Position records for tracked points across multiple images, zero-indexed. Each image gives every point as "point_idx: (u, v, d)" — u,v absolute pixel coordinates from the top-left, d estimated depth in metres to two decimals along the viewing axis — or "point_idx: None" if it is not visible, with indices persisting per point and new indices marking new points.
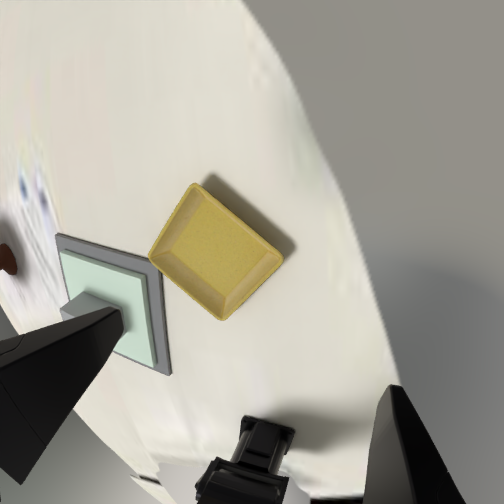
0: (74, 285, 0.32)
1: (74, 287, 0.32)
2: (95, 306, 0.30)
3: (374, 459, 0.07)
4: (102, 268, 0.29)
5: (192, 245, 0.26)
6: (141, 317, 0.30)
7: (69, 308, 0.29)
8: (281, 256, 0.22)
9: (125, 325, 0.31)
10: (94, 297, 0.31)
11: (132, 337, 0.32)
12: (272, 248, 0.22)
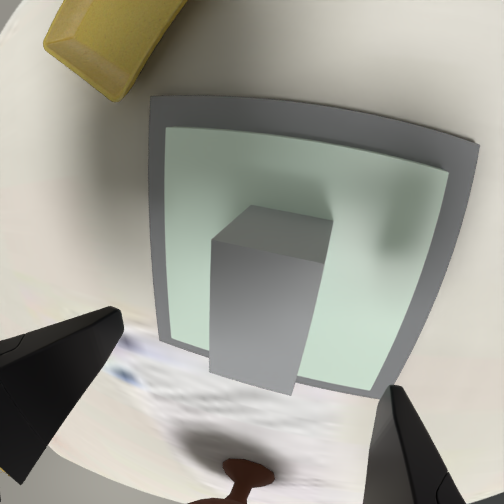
0: None
1: None
2: None
3: (374, 459, 0.07)
4: (168, 230, 0.15)
5: (121, 40, 0.13)
6: (266, 148, 0.12)
7: None
8: None
9: (308, 214, 0.13)
10: None
11: (347, 206, 0.12)
12: None
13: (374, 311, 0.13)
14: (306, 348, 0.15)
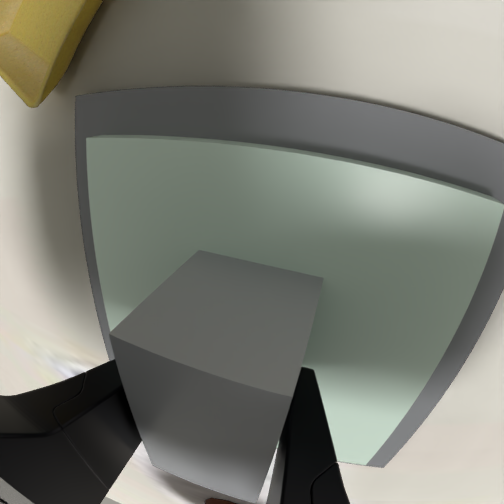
0: None
1: None
2: None
3: (280, 441, 0.07)
4: (102, 275, 0.11)
5: (51, 28, 0.08)
6: (217, 163, 0.08)
7: None
8: None
9: (284, 268, 0.08)
10: None
11: (346, 256, 0.08)
12: None
13: (377, 392, 0.09)
14: None
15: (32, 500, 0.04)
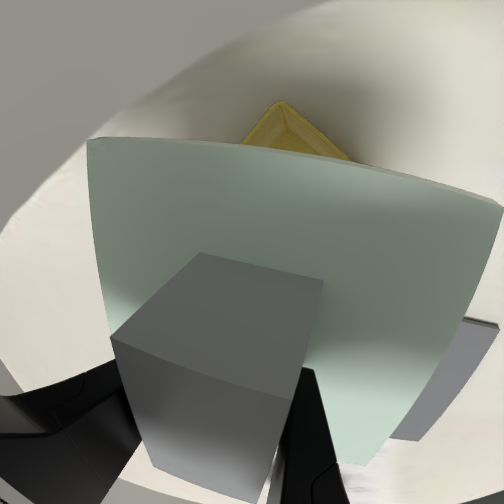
0: None
1: None
2: None
3: (280, 441, 0.07)
4: (103, 276, 0.11)
5: None
6: (218, 166, 0.08)
7: None
8: (276, 103, 0.16)
9: (284, 270, 0.08)
10: None
11: (346, 259, 0.08)
12: (266, 114, 0.16)
13: (377, 393, 0.09)
14: None
15: (32, 500, 0.04)
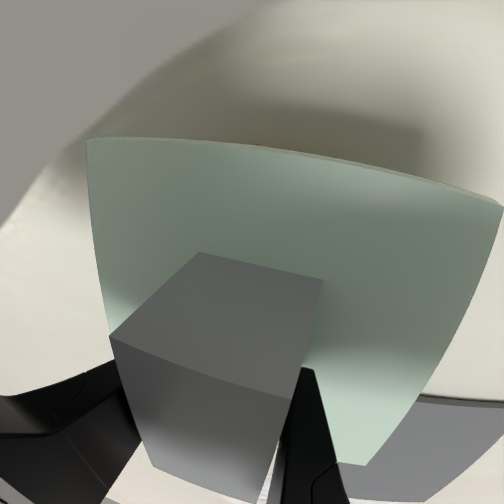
0: None
1: None
2: None
3: (280, 441, 0.07)
4: (102, 276, 0.11)
5: None
6: (217, 165, 0.08)
7: None
8: None
9: (283, 269, 0.08)
10: None
11: (346, 258, 0.08)
12: None
13: (377, 394, 0.09)
14: None
15: (32, 500, 0.04)
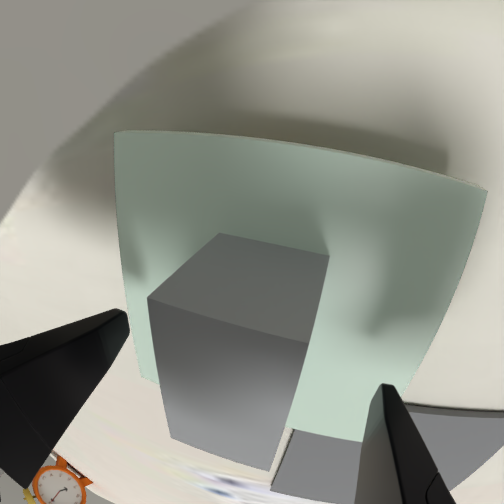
0: None
1: None
2: None
3: (365, 458, 0.07)
4: (124, 259, 0.12)
5: None
6: (238, 156, 0.09)
7: None
8: None
9: (295, 247, 0.09)
10: None
11: (349, 236, 0.09)
12: None
13: (379, 365, 0.10)
14: (294, 401, 0.12)
15: None
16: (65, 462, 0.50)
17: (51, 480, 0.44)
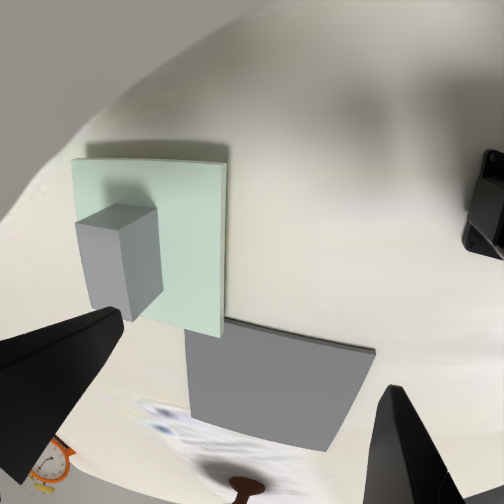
0: None
1: None
2: None
3: (374, 459, 0.07)
4: None
5: None
6: (118, 167, 0.19)
7: None
8: None
9: (143, 206, 0.19)
10: None
11: (163, 197, 0.18)
12: None
13: (198, 270, 0.20)
14: (165, 300, 0.22)
15: None
16: None
17: None
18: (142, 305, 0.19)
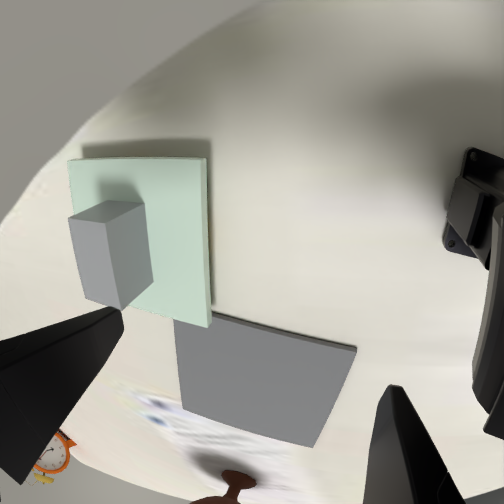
0: None
1: None
2: None
3: (374, 459, 0.07)
4: None
5: None
6: (108, 166, 0.20)
7: None
8: None
9: (132, 201, 0.20)
10: None
11: (149, 193, 0.19)
12: None
13: (183, 261, 0.21)
14: (156, 292, 0.23)
15: None
16: None
17: None
18: (131, 295, 0.20)
